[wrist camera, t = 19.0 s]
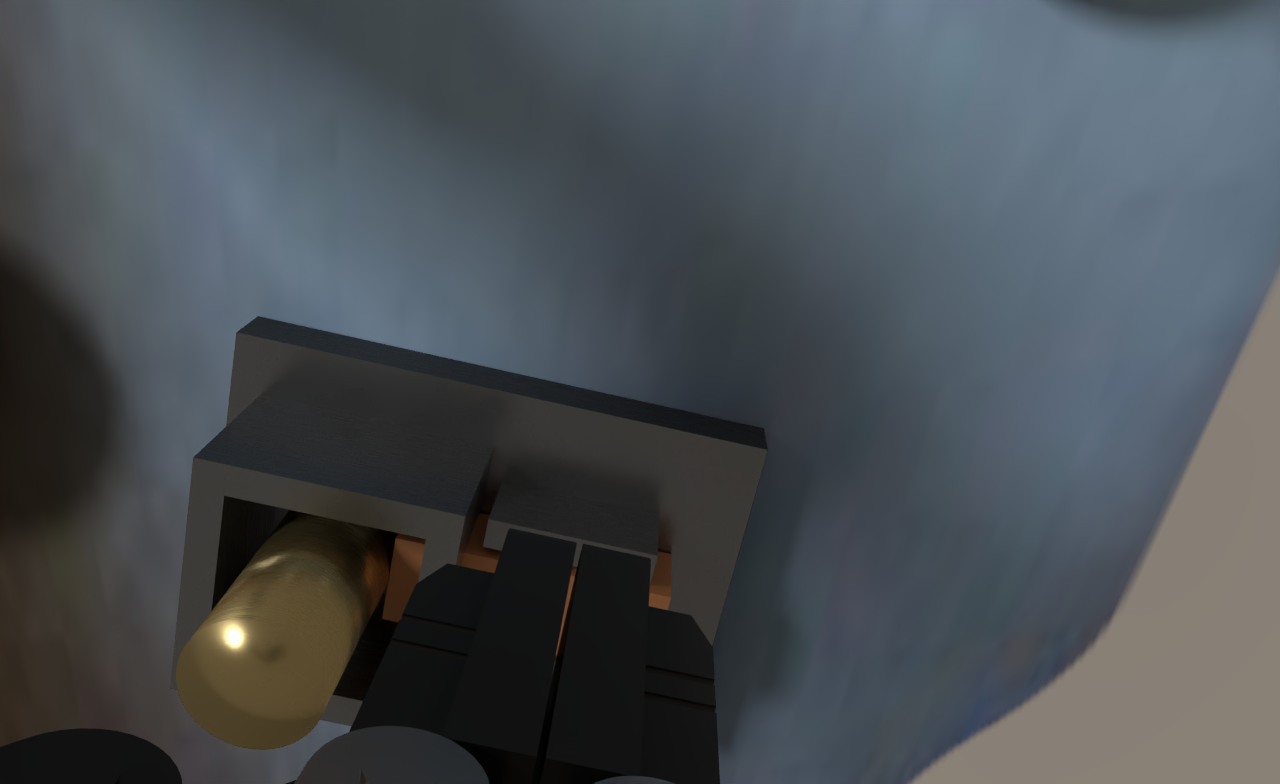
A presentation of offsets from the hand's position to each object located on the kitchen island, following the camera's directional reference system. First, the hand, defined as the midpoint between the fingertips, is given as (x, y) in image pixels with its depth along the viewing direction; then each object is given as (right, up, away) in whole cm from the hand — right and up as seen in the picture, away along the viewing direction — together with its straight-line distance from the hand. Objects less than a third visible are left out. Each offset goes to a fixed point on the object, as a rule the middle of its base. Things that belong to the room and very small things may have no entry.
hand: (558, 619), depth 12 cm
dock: (-5, -2, +30) cm, 30 cm away
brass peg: (-9, -2, +28) cm, 29 cm away
